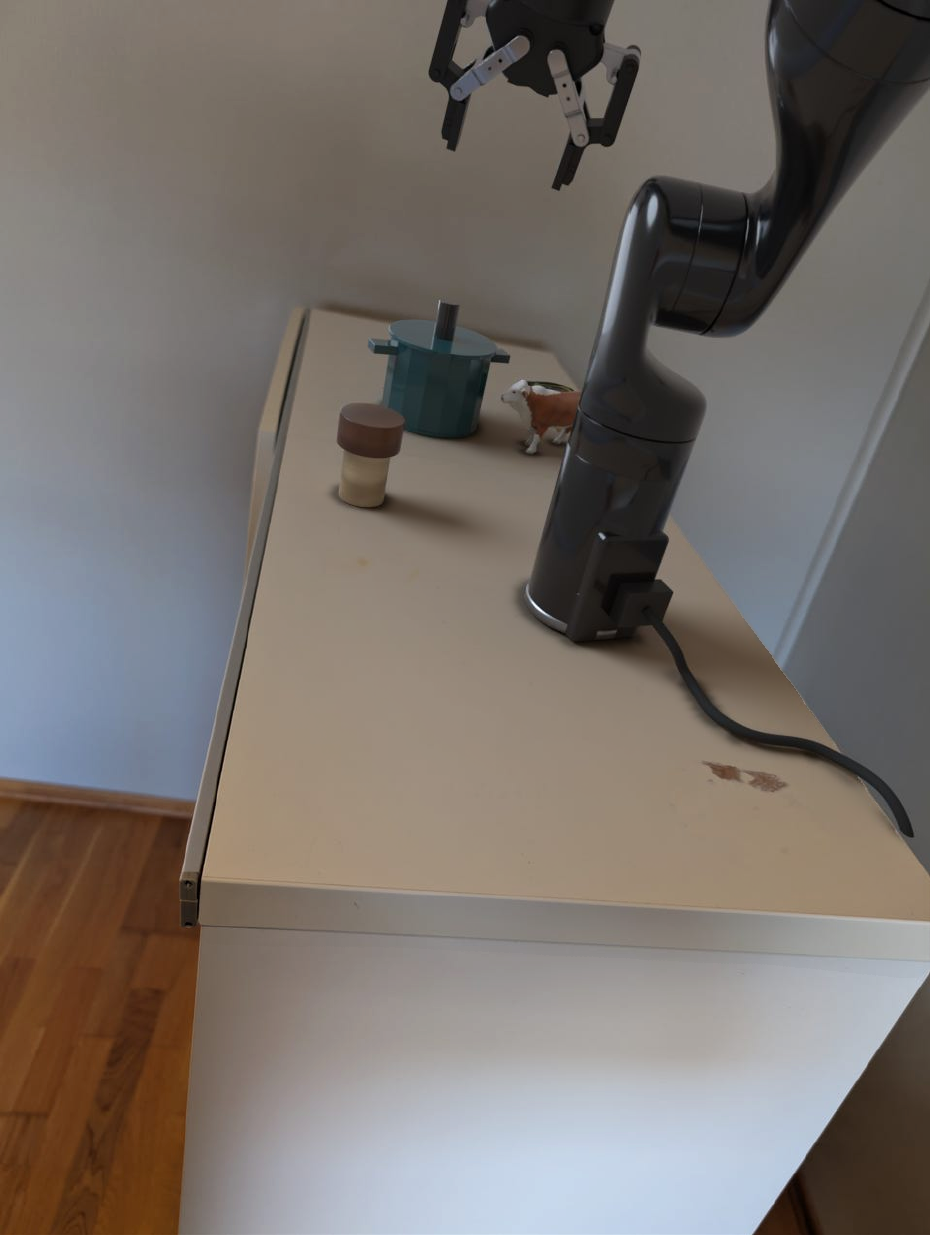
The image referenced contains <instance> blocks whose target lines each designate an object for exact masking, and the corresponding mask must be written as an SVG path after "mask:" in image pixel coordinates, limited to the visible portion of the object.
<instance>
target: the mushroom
mask: <svg viewBox="0 0 930 1235" xmlns="http://www.w3.org/2000/svg"><path fill="white" fill-rule="evenodd" d="M338 418H339V419H338V424H337V426H338V427H337V433H336V444H337V445H338V446H339V447H340V448H341V449H342V450H343V456H342V463H341V470H340V478H339V479H340V480H339V487H338V497H339V498H340V499H341V500H342V501H343V502H345V503H346V504H349V505H351V506H355V507H361V508H375V507H378V506H380V505H382V504H383V503H384V502H385V494H386V488H387V483H388V476H389V469H390V463H391V458H393V457H396V456H398V455H399V454H400V452H401V448H402V442H403V437H404V430H405V429H404V425H405V419H404V417H403V416H402V415H401V414H400V413H398V412H397V411H395V410H392V409H390V408H387V407H384V406H381V405H380V404H375V403H369V402H352V403H348V404H345V405H342V407H341V408H340V410H339V417H338Z"/></svg>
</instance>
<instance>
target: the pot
mask: <svg viewBox="0 0 930 1235" xmlns="http://www.w3.org/2000/svg"><path fill="white" fill-rule="evenodd" d="M367 341H368V342H367V348H368V349H369V350H370V351H371V352H372V353H373V354H374V355H387V356H388V357H387V364H386V371H385V378H384V384H383V392H382V398H381V406H384V407H387V408H390V409H392V410H395V411H397V412H398V413H400V414H401V415H402V416H403V417H404V419H405V425H404V430H405V431H408V432H411V433H414V434H418V435H422V436H426V437H431V438H432V437H433V438H441V439H442V438H443V439H445V438H446V439H454V438H463V437H467V436H470V435H472V434H473V433H474V432H475V431H476V429H477V427H478V423H479V420H480V414H481V409H482V406H483V400H484V395H485V391H486V387H487V386H486V385H487V381H488V377H489V372H490V366H491V363H495V364H496V363H497V364H506V365H507V364H510V360H511V354H509V353H508V351H506V350H504V349H503V348H497V352H496V354H495V355H494V356H493V357H491V358H488V359H482V360H461V359H453V358H446V357H441V356H436V355H432V354H428V353H424V352H421V351H418V350H415V349H412V348H410V347H407V346H405V345H403V344H401V343H399V342H398V341H396V340H395V339H393V338H392V337H391V336H390V339H385V338H372V337H368V340H367Z"/></svg>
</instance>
